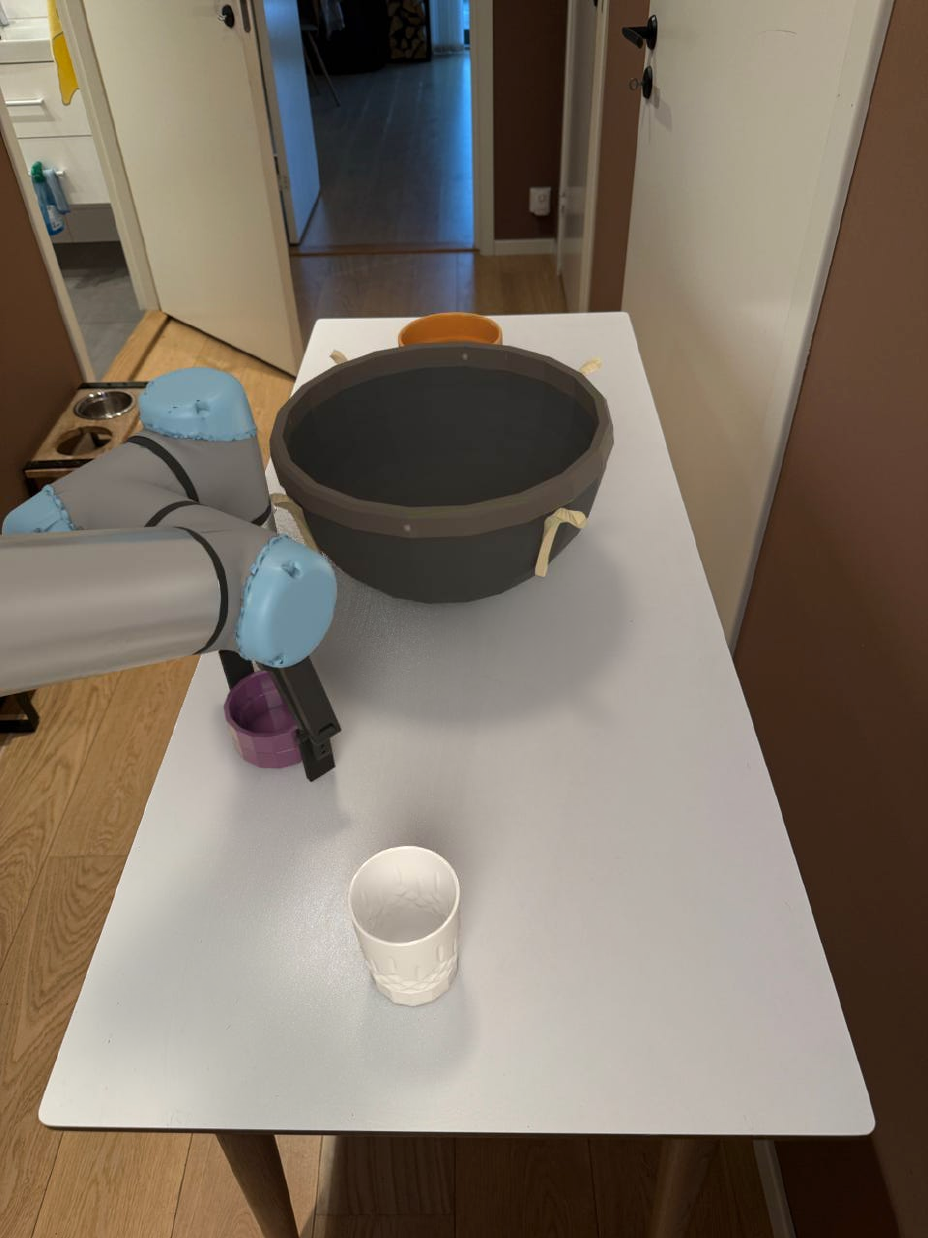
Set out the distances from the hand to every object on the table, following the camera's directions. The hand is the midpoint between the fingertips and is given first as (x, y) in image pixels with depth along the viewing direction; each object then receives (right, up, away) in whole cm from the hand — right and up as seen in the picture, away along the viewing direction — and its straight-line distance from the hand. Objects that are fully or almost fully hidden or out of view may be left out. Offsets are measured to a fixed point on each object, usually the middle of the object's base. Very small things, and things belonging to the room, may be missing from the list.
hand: (281, 731), depth 89 cm
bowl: (+16, +17, +19) cm, 30 cm away
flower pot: (+16, +40, +45) cm, 62 cm away
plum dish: (0, 0, 0) cm, 1 cm away
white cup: (+14, -16, -18) cm, 27 cm away
